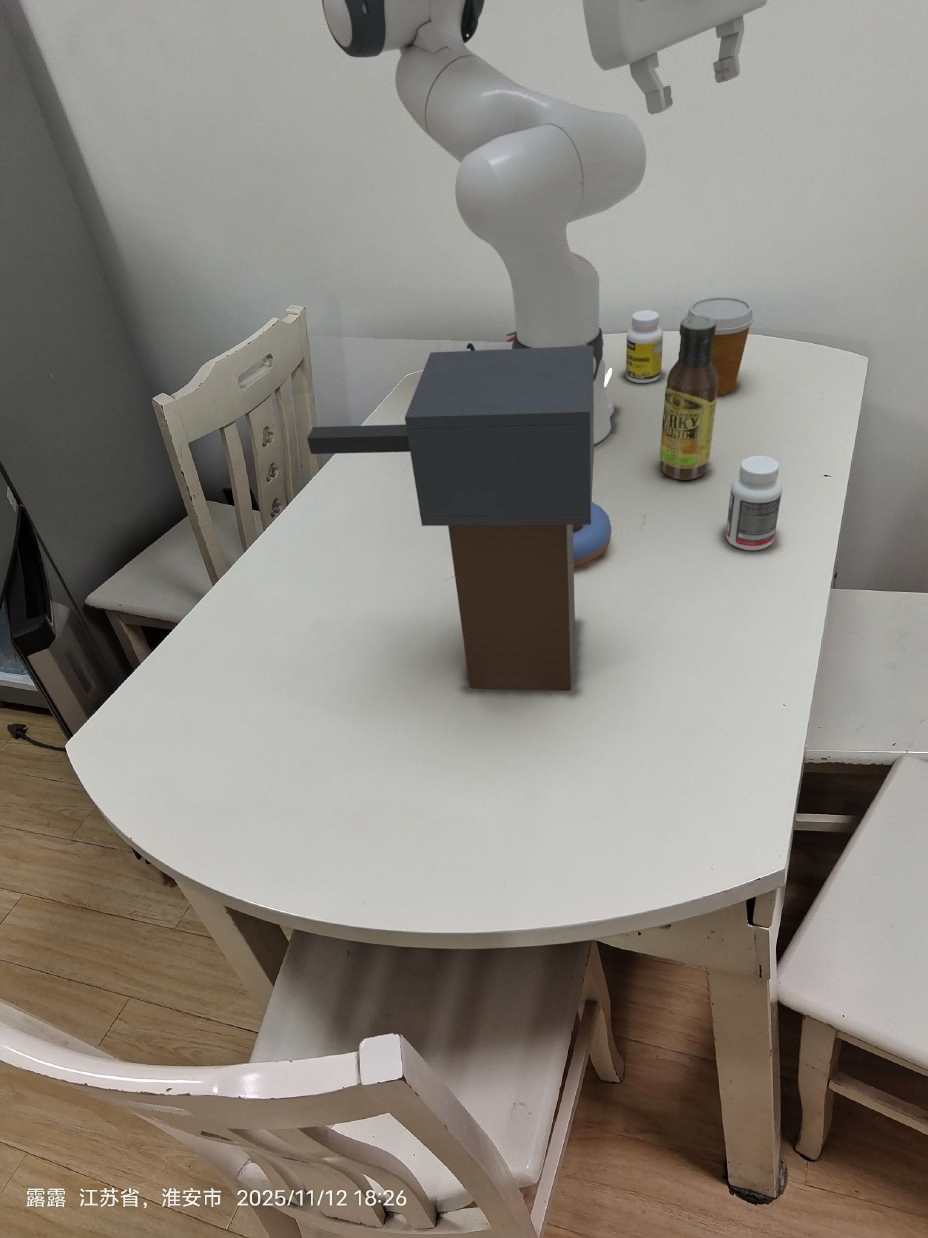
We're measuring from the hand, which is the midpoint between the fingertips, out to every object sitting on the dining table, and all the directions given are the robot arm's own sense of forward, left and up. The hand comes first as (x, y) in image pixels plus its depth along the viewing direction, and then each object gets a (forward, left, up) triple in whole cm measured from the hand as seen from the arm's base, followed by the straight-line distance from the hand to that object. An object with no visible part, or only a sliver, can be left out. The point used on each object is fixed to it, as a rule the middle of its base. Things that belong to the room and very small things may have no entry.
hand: (695, 94), depth 80 cm
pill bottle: (+13, +1, -44) cm, 46 cm away
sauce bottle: (-3, +5, -44) cm, 44 cm away
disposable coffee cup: (-18, +26, -44) cm, 54 cm away
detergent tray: (+9, -36, -22) cm, 43 cm away
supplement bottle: (-28, +20, -44) cm, 56 cm away
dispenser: (+13, -32, -44) cm, 55 cm away
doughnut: (+1, -16, -44) cm, 47 cm away
